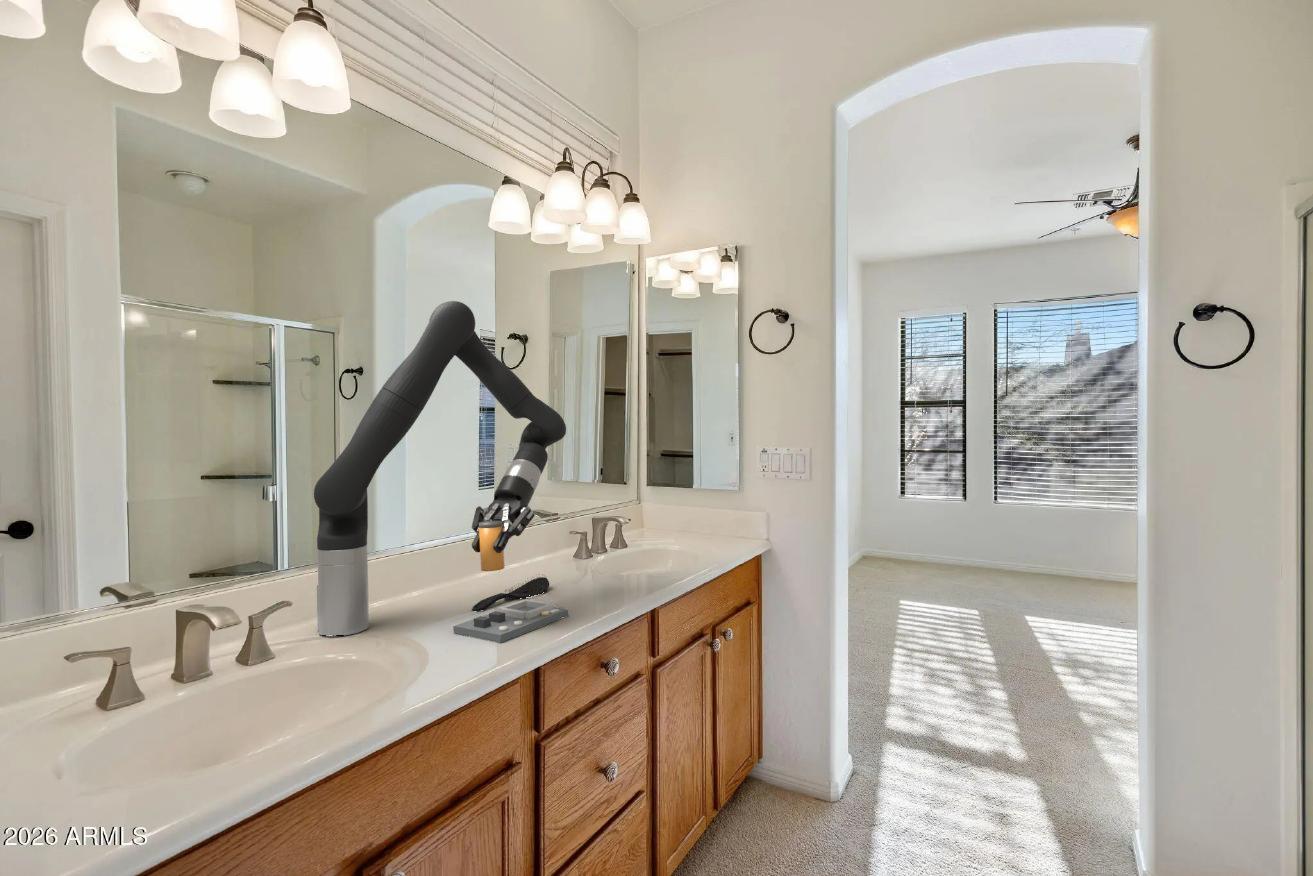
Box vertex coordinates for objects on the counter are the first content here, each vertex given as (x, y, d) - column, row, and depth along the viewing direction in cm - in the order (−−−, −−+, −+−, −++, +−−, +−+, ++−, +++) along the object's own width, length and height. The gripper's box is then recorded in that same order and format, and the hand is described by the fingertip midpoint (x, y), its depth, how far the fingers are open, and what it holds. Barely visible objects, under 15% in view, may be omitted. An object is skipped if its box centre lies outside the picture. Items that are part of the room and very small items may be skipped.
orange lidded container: (476, 570, 125) (473, 523, 125) (493, 565, 129) (491, 520, 129) (492, 572, 122) (489, 524, 122) (509, 567, 126) (507, 520, 126)
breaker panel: (453, 633, 124) (453, 617, 124) (523, 609, 141) (523, 595, 141) (500, 643, 117) (500, 626, 117) (568, 616, 134) (568, 601, 134)
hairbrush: (459, 599, 142) (531, 572, 163) (460, 615, 142) (532, 586, 164) (486, 603, 137) (556, 575, 159) (487, 619, 138) (557, 589, 159)
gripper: (483, 474, 135) (447, 538, 124) (539, 472, 130) (507, 540, 119) (499, 495, 140) (466, 560, 129) (553, 495, 135) (524, 562, 124)
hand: (486, 550), depth 124 cm, fingers closed on orange lidded container, 4 cm apart
